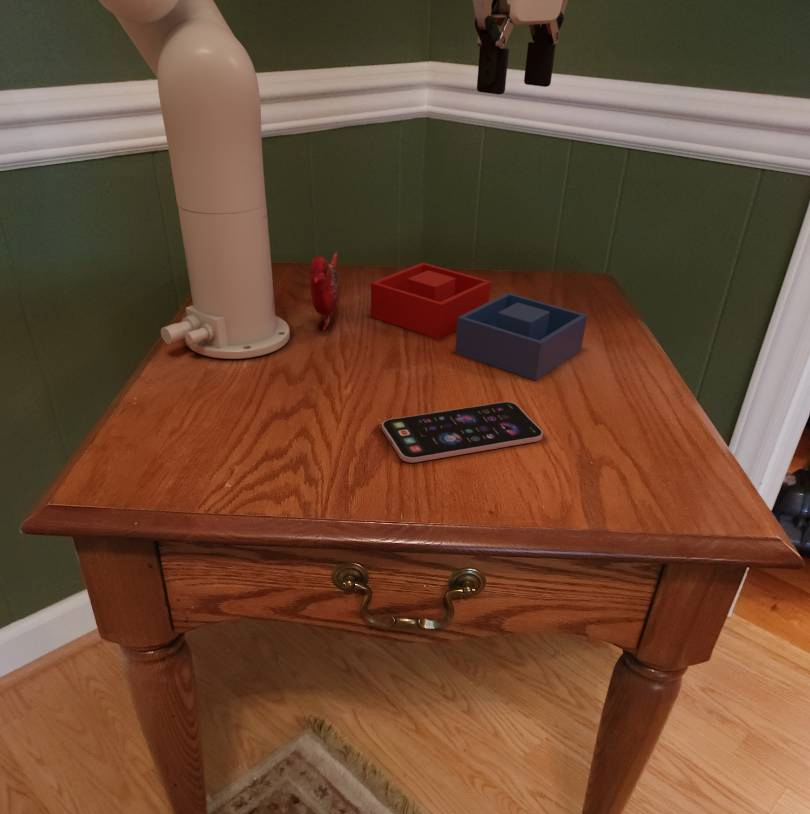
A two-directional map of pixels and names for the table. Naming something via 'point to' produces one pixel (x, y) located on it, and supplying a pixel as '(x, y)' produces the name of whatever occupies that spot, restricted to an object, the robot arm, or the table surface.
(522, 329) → the blue block
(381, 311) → the red bin
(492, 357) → the blue bin
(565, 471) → the table surface
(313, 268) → the decorative bird figurine
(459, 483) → the table surface
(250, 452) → the table surface
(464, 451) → the smartphone
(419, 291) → the red block
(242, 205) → the robot arm
